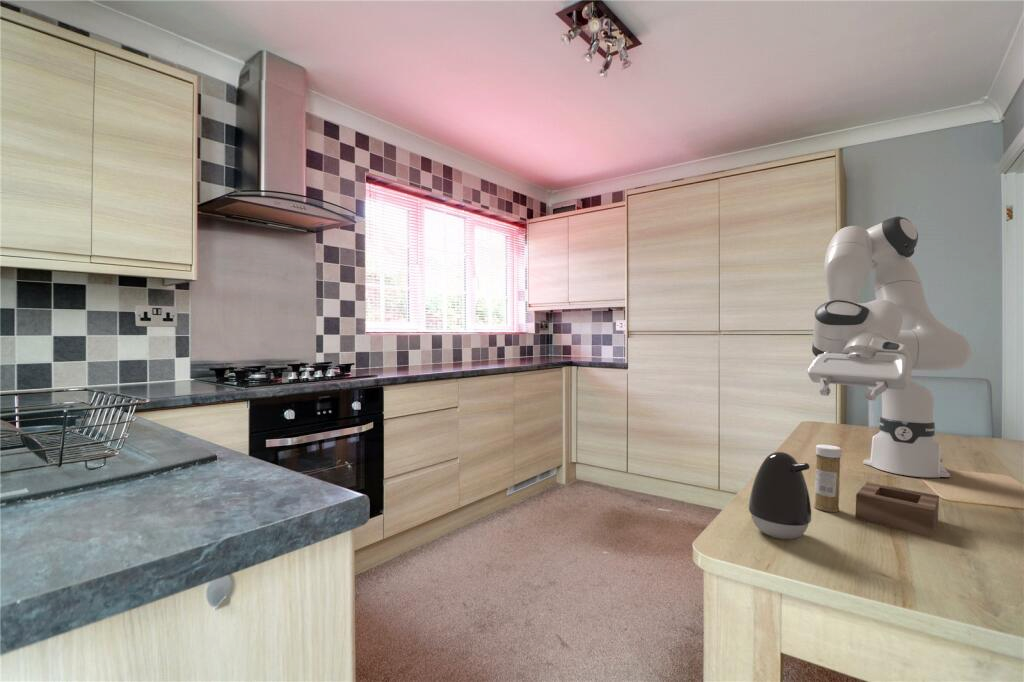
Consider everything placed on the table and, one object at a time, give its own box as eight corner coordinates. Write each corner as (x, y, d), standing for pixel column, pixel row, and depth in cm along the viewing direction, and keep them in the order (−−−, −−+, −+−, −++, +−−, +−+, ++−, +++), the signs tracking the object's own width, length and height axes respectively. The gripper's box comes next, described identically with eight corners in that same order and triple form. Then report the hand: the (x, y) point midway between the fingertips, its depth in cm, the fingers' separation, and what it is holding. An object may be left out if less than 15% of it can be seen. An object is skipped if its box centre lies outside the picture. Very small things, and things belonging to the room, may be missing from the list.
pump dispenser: (785, 549, 85) (788, 462, 84) (735, 527, 94) (738, 448, 94) (824, 541, 89) (828, 457, 88) (773, 519, 98) (776, 444, 98)
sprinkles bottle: (842, 510, 105) (845, 447, 104) (832, 514, 102) (835, 449, 102) (819, 503, 108) (822, 442, 108) (809, 507, 106) (811, 445, 106)
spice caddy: (866, 504, 109) (866, 481, 109) (937, 520, 100) (938, 495, 100) (855, 518, 100) (856, 494, 100) (932, 537, 92) (934, 510, 92)
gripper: (815, 343, 126) (794, 382, 121) (914, 345, 109) (894, 391, 104) (823, 360, 129) (803, 399, 123) (921, 365, 112) (902, 411, 106)
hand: (845, 396), depth 113 cm, fingers open, 8 cm apart
